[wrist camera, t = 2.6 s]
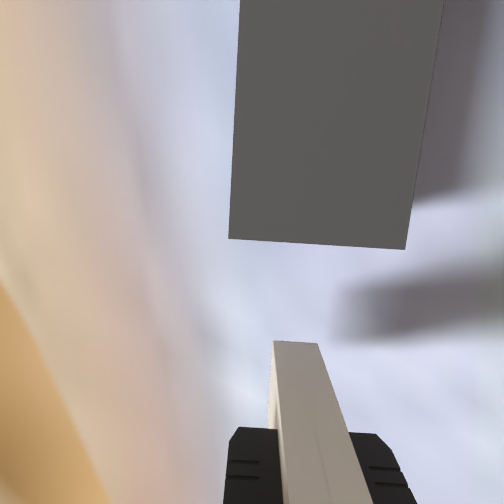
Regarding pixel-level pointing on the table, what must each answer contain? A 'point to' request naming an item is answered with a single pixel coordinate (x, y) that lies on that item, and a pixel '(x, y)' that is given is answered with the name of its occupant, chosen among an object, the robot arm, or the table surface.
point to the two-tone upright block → (330, 119)
